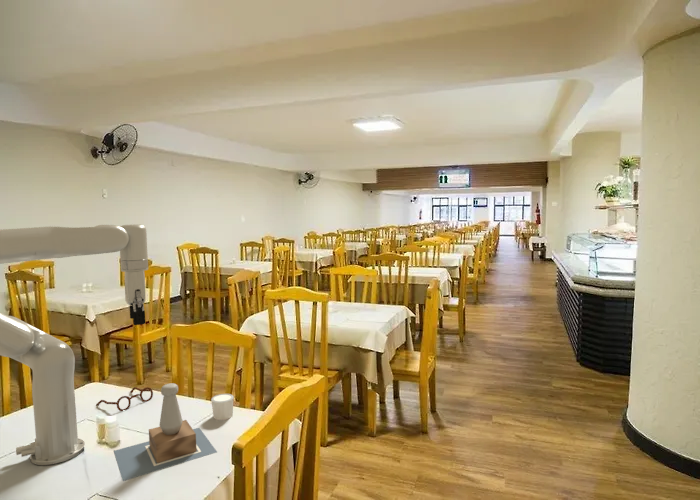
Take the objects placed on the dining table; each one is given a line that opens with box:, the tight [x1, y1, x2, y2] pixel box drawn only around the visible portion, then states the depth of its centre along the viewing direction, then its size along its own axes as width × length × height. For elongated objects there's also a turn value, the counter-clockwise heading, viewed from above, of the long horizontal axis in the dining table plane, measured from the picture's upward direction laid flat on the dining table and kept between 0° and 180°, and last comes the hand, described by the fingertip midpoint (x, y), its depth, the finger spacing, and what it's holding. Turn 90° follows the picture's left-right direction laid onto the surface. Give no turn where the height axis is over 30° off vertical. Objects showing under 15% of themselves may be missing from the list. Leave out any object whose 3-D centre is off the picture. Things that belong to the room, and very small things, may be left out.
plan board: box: [113, 427, 218, 482], centre depth 125 cm, size 23×17×1 cm
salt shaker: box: [159, 382, 183, 435], centre depth 125 cm, size 6×6×13 cm
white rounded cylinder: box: [210, 393, 234, 421], centre depth 145 cm, size 7×7×7 cm
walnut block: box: [148, 419, 197, 463], centre depth 126 cm, size 10×10×5 cm
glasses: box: [96, 386, 154, 412], centre depth 160 cm, size 13×13×5 cm
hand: (137, 321), depth 141 cm, fingers open, 9 cm apart
